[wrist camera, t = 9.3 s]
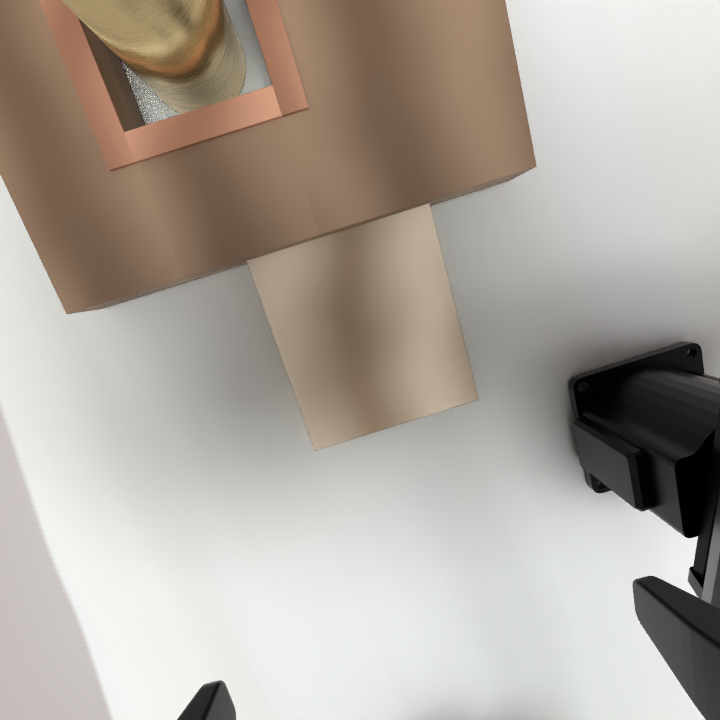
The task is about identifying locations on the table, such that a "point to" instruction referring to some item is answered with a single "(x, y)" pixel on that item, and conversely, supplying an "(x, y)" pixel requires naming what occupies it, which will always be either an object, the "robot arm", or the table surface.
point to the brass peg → (172, 46)
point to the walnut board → (279, 184)
